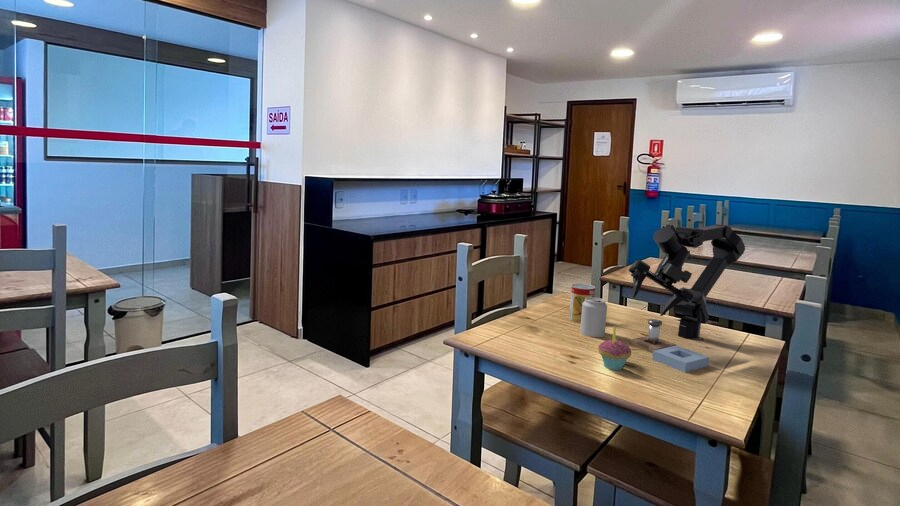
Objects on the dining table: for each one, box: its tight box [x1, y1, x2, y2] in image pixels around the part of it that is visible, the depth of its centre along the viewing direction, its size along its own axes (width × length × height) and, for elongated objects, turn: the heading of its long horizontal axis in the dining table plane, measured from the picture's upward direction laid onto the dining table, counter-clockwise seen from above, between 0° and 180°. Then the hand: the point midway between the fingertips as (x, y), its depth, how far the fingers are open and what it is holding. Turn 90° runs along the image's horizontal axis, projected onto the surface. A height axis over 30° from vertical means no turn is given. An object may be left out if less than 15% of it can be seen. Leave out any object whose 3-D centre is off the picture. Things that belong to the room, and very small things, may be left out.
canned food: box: [568, 283, 596, 324], centre depth 184 cm, size 8×8×12 cm
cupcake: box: [597, 324, 632, 371], centre depth 141 cm, size 9×8×12 cm
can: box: [579, 296, 608, 338], centre depth 166 cm, size 8×8×12 cm
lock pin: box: [647, 318, 663, 345], centre depth 155 cm, size 4×4×8 cm
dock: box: [652, 344, 710, 373], centre depth 144 cm, size 10×10×4 cm
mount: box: [629, 335, 677, 354], centre depth 156 cm, size 9×9×2 cm
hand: (647, 306), depth 153 cm, fingers open, 9 cm apart
